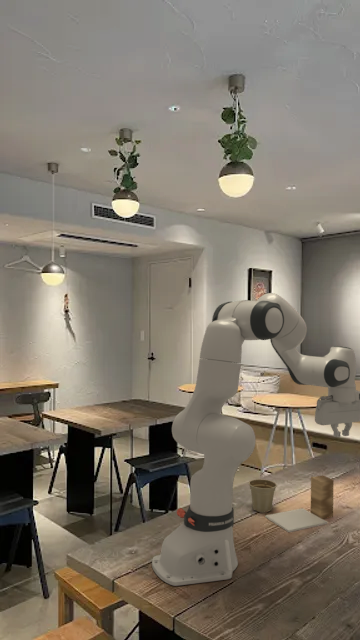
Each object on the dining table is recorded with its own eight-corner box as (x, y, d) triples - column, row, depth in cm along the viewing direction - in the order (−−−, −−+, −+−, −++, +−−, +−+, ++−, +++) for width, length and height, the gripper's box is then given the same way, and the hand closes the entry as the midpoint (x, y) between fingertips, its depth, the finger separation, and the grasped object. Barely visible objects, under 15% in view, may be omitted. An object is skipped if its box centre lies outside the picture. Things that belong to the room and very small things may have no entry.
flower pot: (268, 502, 169) (268, 477, 169) (281, 512, 160) (282, 486, 160) (243, 505, 166) (243, 480, 166) (256, 516, 157) (256, 489, 157)
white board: (288, 532, 145) (288, 530, 145) (265, 517, 156) (265, 515, 156) (327, 523, 151) (327, 521, 151) (302, 509, 162) (302, 508, 162)
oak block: (321, 519, 155) (321, 482, 155) (310, 513, 159) (311, 477, 159) (333, 516, 157) (334, 479, 157) (323, 511, 162) (323, 475, 162)
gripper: (324, 398, 154) (323, 441, 154) (371, 394, 163) (370, 435, 163) (310, 395, 160) (310, 437, 160) (357, 391, 169) (356, 431, 169)
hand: (341, 436), depth 161 cm, fingers open, 2 cm apart
